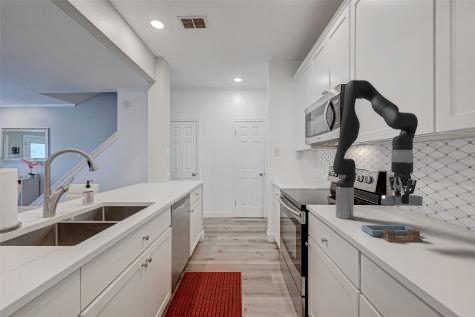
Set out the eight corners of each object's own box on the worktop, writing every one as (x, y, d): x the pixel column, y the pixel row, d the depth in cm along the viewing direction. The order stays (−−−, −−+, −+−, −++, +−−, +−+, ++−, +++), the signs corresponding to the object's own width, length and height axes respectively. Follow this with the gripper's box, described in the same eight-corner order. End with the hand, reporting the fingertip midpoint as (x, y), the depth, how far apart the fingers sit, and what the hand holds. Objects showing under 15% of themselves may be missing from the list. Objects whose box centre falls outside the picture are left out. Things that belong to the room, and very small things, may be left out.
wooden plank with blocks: (380, 237, 103) (380, 228, 103) (413, 237, 103) (413, 228, 103) (388, 241, 98) (388, 231, 98) (422, 242, 98) (422, 232, 98)
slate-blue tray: (361, 230, 113) (361, 224, 113) (404, 230, 113) (404, 225, 113) (372, 236, 104) (372, 230, 104) (419, 237, 104) (419, 231, 104)
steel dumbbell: (378, 203, 103) (378, 195, 103) (416, 203, 103) (416, 195, 103) (385, 205, 98) (385, 197, 98) (425, 205, 98) (425, 197, 98)
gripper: (382, 160, 107) (382, 199, 107) (404, 161, 93) (404, 206, 93) (399, 160, 107) (399, 199, 107) (424, 161, 93) (423, 206, 93)
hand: (401, 202), depth 100 cm, fingers closed on steel dumbbell, 4 cm apart
